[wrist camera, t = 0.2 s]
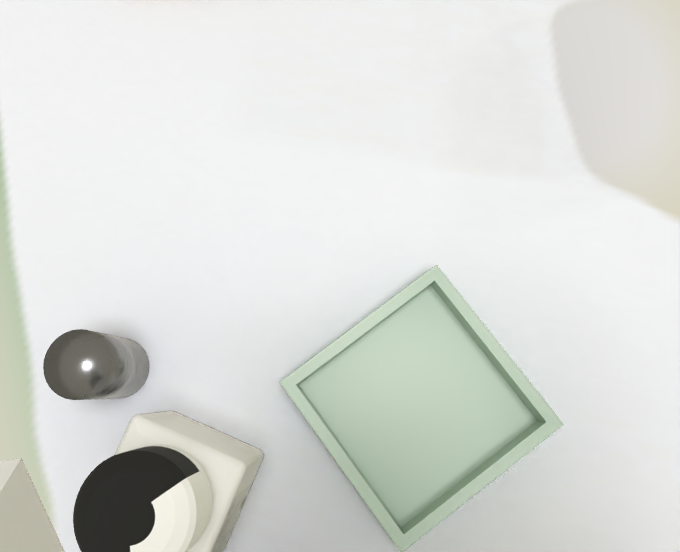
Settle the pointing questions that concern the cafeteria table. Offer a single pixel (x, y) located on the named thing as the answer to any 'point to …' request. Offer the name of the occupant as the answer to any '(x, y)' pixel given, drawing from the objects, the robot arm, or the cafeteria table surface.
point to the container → (166, 489)
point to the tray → (420, 407)
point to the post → (95, 366)
